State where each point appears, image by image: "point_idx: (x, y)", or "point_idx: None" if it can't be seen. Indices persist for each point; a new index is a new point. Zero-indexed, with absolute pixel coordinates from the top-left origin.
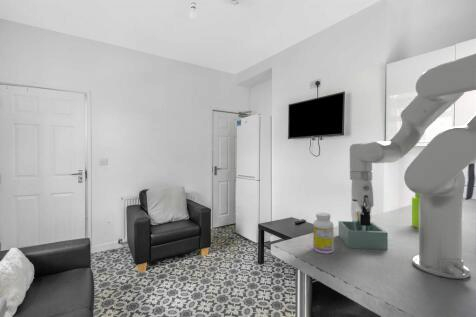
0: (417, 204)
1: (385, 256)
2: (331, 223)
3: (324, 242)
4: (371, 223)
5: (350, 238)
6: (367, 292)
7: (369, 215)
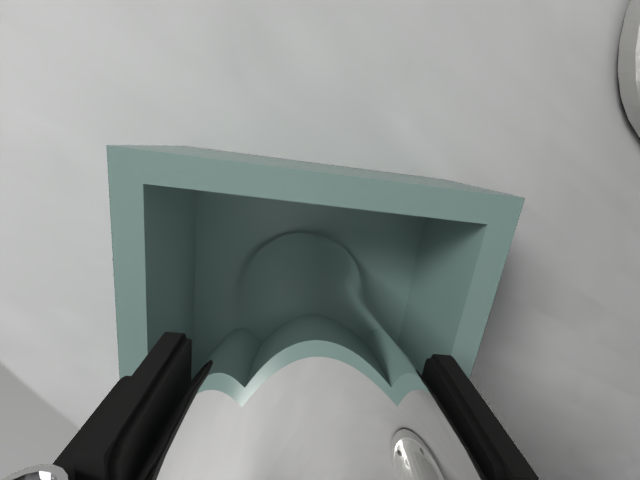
0: None
1: (534, 251)
2: None
3: None
4: (170, 186)
5: None
6: None
7: (527, 474)
